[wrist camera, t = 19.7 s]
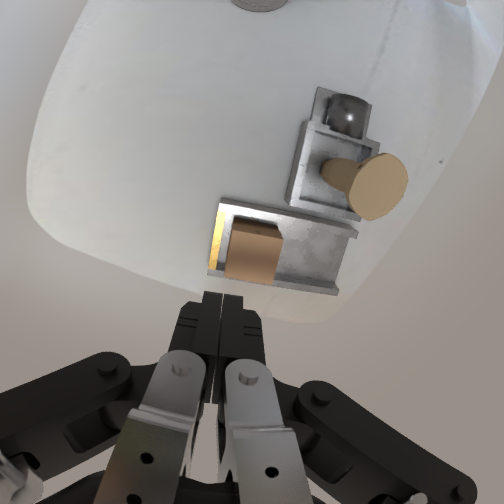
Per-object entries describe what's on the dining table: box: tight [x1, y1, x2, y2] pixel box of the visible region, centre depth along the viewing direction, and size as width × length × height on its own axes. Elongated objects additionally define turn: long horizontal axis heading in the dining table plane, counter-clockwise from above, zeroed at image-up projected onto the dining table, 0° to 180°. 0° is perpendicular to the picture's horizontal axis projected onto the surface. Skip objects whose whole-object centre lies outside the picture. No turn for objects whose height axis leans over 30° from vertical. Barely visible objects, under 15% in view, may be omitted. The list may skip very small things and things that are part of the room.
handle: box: [320, 153, 408, 221], centre depth 30 cm, size 5×6×15 cm
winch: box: [284, 87, 380, 222], centre depth 34 cm, size 16×10×6 cm, turn 168°
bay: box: [207, 198, 359, 296], centre depth 40 cm, size 10×19×4 cm, turn 78°
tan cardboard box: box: [224, 217, 284, 285], centre depth 37 cm, size 6×6×6 cm
